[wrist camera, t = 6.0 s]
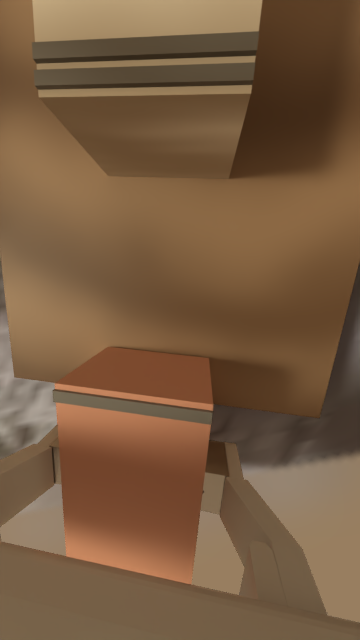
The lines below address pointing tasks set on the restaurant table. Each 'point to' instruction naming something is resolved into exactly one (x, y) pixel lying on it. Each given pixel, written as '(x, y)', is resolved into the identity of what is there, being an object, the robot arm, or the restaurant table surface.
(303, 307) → the board
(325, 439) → the restaurant table surface
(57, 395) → the orange rectangular block
